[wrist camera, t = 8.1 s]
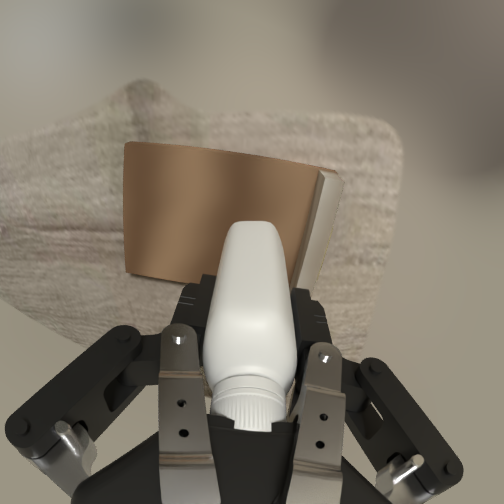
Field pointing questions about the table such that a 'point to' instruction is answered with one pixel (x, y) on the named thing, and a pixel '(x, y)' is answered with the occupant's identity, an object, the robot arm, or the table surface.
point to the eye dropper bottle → (250, 330)
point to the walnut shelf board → (221, 209)
